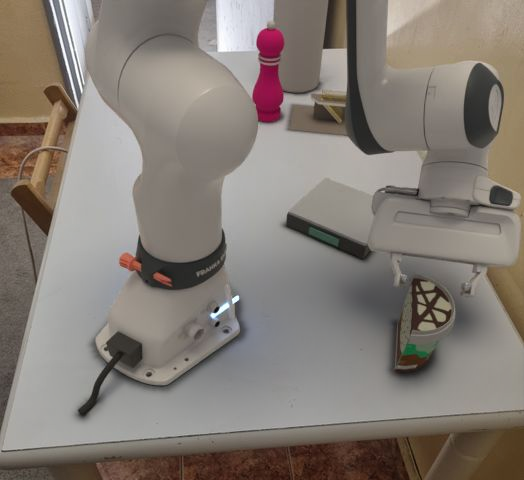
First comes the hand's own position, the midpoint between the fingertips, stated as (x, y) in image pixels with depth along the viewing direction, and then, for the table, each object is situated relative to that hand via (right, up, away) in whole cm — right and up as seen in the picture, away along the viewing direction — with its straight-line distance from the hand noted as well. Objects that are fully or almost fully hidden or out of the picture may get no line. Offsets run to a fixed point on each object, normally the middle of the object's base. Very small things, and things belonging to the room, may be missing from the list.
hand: (432, 291), depth 73 cm
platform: (-8, +46, +49) cm, 67 cm away
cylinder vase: (-16, +61, +61) cm, 87 cm away
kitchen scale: (-9, +16, +24) cm, 30 cm away
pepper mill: (-23, +47, +49) cm, 72 cm away
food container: (-1, -9, +5) cm, 10 cm away
